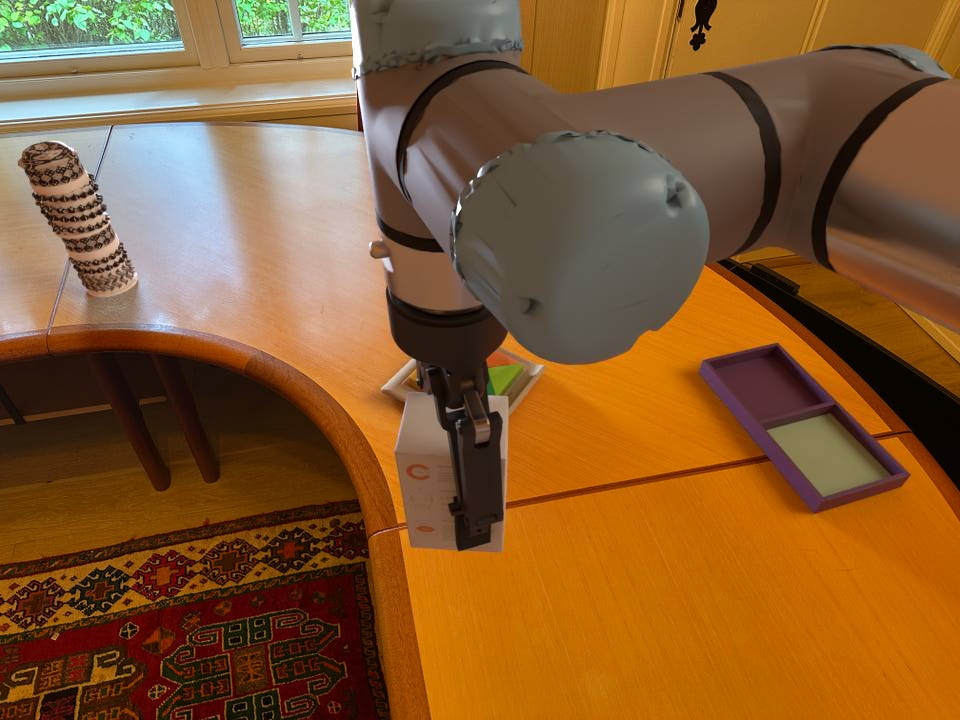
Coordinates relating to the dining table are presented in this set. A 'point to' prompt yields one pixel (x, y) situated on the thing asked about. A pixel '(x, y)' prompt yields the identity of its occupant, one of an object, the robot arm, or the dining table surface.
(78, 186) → the decorative candle
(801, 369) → the purple divided tray
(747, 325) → the dining table surface
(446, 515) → the small box
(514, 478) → the dining table surface
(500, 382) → the wooden puzzle
